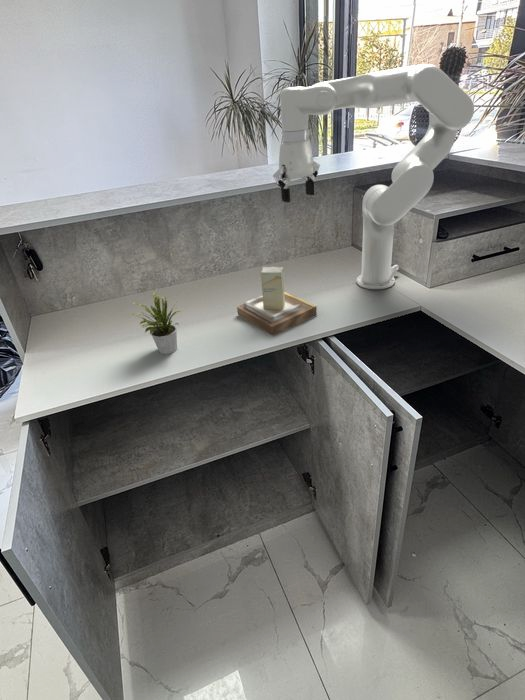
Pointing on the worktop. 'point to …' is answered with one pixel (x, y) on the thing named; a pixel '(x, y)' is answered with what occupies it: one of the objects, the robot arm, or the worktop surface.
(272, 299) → the skincare box
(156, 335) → the house plant
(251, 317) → the dock
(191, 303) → the worktop surface
